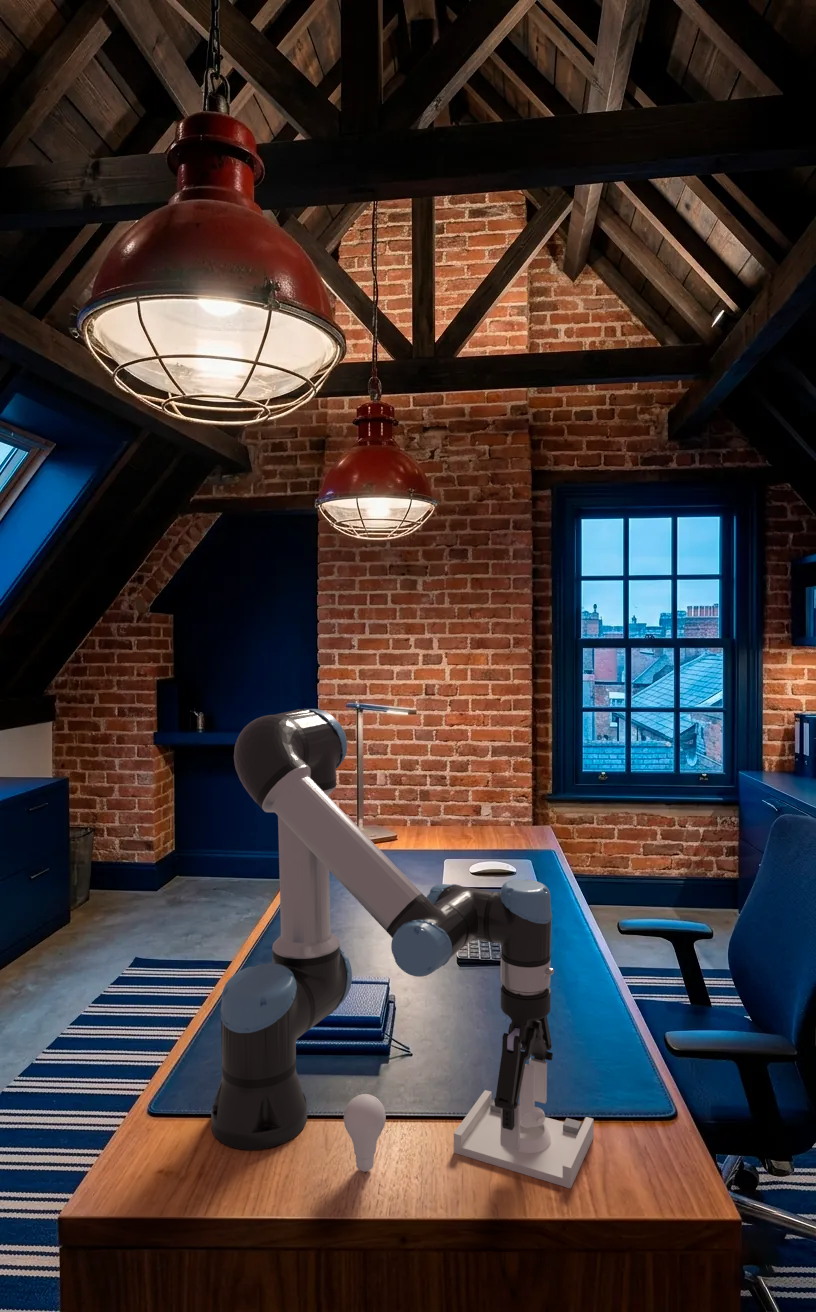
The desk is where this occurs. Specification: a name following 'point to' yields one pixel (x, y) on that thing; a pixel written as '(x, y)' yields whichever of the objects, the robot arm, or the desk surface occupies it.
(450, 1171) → the desk surface
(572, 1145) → the panel
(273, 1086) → the robot arm
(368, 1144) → the lightbulb
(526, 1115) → the hook
